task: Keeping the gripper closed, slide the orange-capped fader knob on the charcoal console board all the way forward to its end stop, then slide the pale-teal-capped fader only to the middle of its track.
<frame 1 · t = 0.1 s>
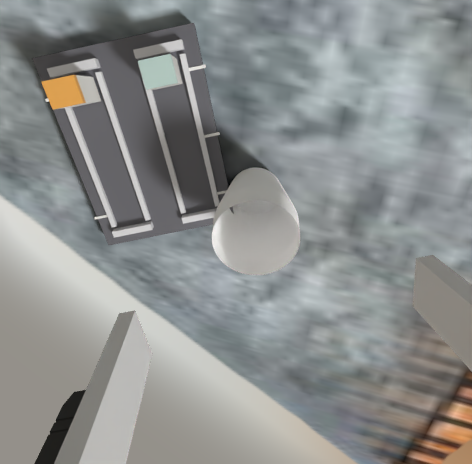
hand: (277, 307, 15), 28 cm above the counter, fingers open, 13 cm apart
fader a: (73, 92, 31), point 5 cm above the counter, slide at 0.0 cm
cup: (255, 190, 41), on the counter, touching console
fader b: (162, 73, 31), point 5 cm above the counter, slide at 0.0 cm
console: (148, 145, 38), on the counter
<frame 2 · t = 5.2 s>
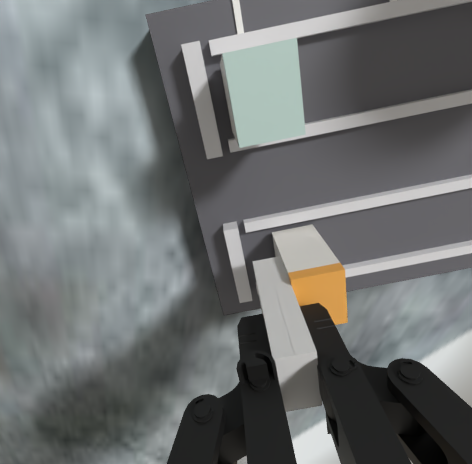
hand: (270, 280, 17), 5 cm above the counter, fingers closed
fader a: (305, 272, 17), point 5 cm above the counter, slide at 1.2 cm, touching gripper
fader b: (257, 94, 13), point 5 cm above the counter, slide at 0.0 cm
console: (372, 149, 19), on the counter
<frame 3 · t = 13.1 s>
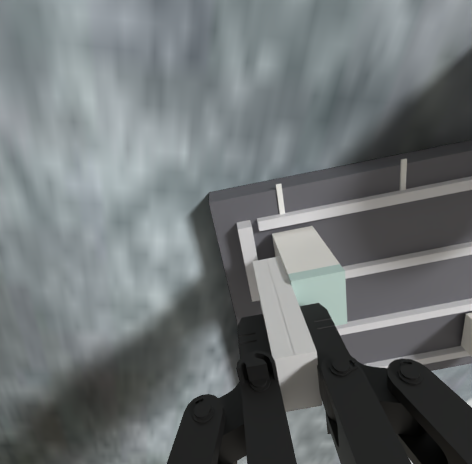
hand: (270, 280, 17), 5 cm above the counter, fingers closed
fader b: (305, 274, 17), point 5 cm above the counter, slide at 0.4 cm, touching gripper
console: (383, 273, 23), on the counter
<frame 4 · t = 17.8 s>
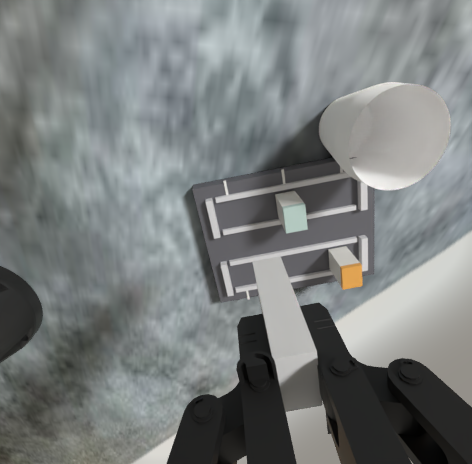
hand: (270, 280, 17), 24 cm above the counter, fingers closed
fader a: (344, 266, 40), point 5 cm above the counter, slide at 12.9 cm
cup: (345, 125, 37), on the counter, touching console
fader b: (290, 211, 36), point 5 cm above the counter, slide at 6.9 cm
console: (287, 228, 43), on the counter
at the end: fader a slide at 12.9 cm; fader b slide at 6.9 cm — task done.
